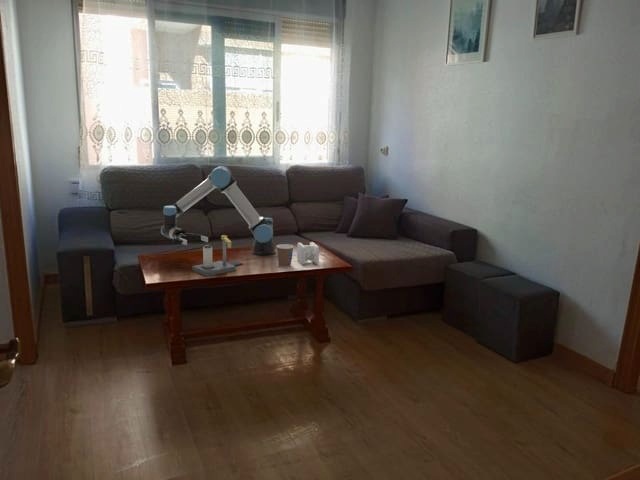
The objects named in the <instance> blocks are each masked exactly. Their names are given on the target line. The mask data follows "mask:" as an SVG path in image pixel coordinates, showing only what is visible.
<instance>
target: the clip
mask: <svg viewBox="0 0 640 480" xmlns="http://www.w3.org/2000/svg"><path fill="white" fill-rule="evenodd" d="M220 237H221V238H220V239H221V240H222V241H223V240H225V241H226V244H227V248H228V249H230V248H232V241H231V240H230V239H229V238H228V235H227V234H223V235H221V236H220Z"/></svg>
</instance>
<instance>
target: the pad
mask: <svg viewBox="0 0 640 480" xmlns="http://www.w3.org/2000/svg"><path fill="white" fill-rule="evenodd" d="M226 263H228V264H231V265H234V266H236V267H238V266H239V267H240V266H243V265H244V263H243V262H240V261H238V260H229V261H226Z"/></svg>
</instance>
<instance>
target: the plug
mask: <svg viewBox="0 0 640 480" xmlns="http://www.w3.org/2000/svg"><path fill="white" fill-rule="evenodd" d="M202 252H203V253H202V255H203V257H202V258H203V259H202V260H203V262H202V264H203V268H204V269H211V268H213V262H214V261H213V246H212V245H211V244H205V245H203V247H202Z"/></svg>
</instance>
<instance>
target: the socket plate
mask: <svg viewBox="0 0 640 480" xmlns="http://www.w3.org/2000/svg"><path fill="white" fill-rule="evenodd" d="M212 262H213V268H211V269H204V268H203V263H201V264H197V265H192V266H191V268H192V271H193V272H195V273H198V274H201V275H203V276H205V277H209V276H210V277H211V276H216V275H219V274H225V273H229V272H234V271H237V270H236V269H237V266H234V265H231V264H228V263H226V262H227V242H226V241H225V240H222V260H217V261H212Z"/></svg>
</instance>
